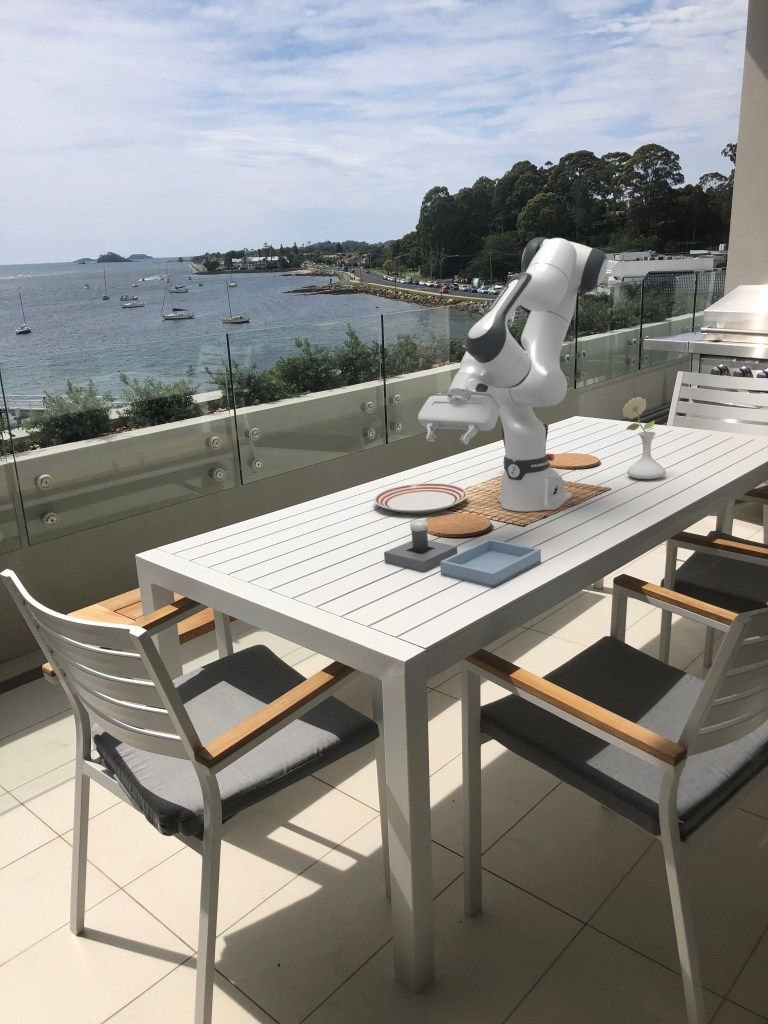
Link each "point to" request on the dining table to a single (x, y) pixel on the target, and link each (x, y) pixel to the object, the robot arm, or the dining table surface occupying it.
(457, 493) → the dinner plate
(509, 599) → the dining table surface
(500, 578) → the parts tray
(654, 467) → the flower in vase
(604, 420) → the dining table surface
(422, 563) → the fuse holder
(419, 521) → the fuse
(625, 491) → the dining table surface
